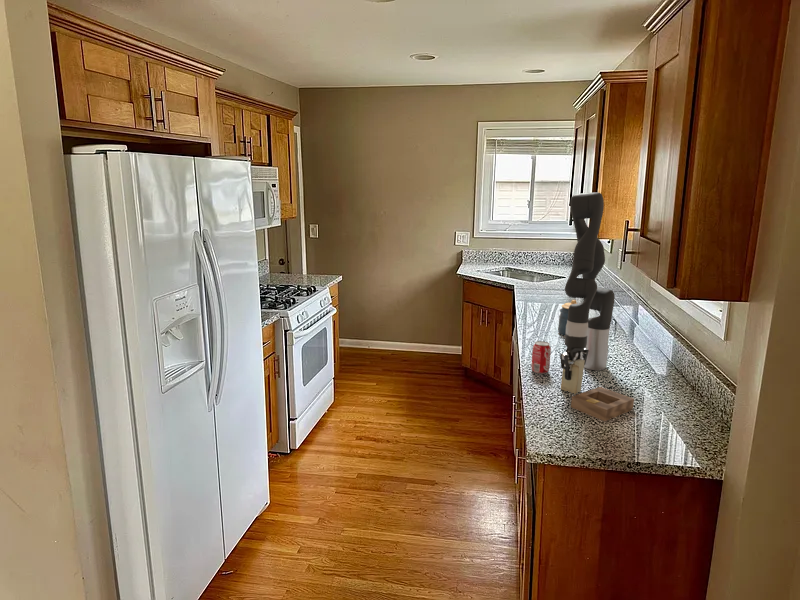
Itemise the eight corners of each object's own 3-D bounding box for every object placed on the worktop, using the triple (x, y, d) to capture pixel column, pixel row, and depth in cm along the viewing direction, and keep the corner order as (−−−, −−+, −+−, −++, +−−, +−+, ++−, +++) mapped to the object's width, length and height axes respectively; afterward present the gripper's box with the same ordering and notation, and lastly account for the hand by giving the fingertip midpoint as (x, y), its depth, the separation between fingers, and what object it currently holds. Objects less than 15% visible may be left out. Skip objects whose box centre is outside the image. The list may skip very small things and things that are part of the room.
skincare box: (560, 389, 197) (563, 358, 194) (566, 386, 200) (569, 355, 197) (576, 394, 192) (579, 362, 190) (582, 391, 195) (585, 359, 193)
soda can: (549, 369, 218) (551, 341, 215) (548, 375, 211) (551, 346, 208) (531, 367, 219) (533, 339, 217) (530, 373, 213) (532, 344, 210)
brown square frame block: (598, 397, 190) (599, 386, 189) (632, 409, 180) (634, 398, 179) (570, 407, 181) (571, 395, 180) (605, 421, 171) (606, 409, 170)
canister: (579, 339, 263) (582, 304, 259) (553, 334, 270) (556, 300, 266) (587, 333, 273) (591, 299, 269) (563, 329, 280) (566, 296, 277)
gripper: (579, 328, 198) (575, 371, 202) (555, 333, 190) (551, 379, 194) (597, 332, 193) (592, 377, 196) (573, 338, 184) (568, 385, 188)
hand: (572, 378), depth 195 cm, fingers closed on skincare box, 4 cm apart
